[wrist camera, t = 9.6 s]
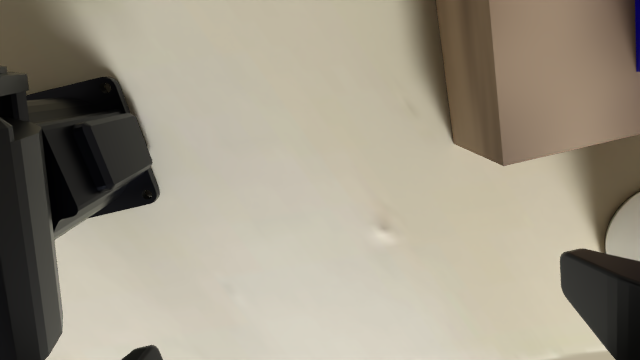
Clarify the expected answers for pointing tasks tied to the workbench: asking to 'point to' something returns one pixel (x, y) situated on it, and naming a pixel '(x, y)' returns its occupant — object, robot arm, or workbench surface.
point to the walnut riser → (539, 75)
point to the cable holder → (637, 34)
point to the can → (625, 230)
